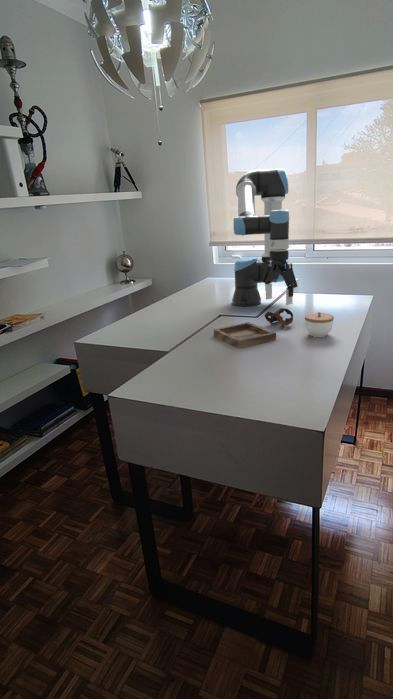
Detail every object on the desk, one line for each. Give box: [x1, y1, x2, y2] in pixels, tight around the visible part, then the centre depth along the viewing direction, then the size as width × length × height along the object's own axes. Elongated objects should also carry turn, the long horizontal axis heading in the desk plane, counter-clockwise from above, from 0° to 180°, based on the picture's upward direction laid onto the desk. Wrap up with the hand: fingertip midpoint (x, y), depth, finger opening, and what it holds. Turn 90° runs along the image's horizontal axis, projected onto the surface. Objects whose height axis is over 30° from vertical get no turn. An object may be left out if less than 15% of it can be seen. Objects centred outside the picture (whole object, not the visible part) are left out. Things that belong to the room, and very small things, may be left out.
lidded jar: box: [304, 311, 335, 338], centre depth 163 cm, size 11×11×9 cm
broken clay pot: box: [264, 307, 294, 329], centre depth 179 cm, size 12×10×8 cm
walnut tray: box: [213, 321, 277, 350], centre depth 166 cm, size 19×17×3 cm
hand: (278, 301), depth 176 cm, fingers open, 13 cm apart
